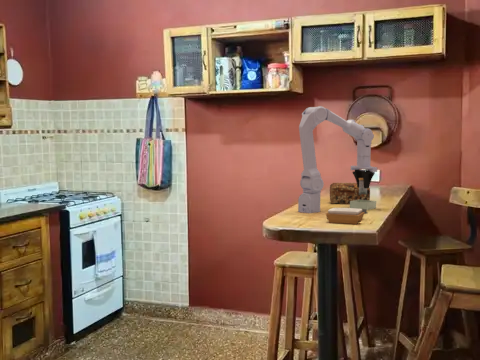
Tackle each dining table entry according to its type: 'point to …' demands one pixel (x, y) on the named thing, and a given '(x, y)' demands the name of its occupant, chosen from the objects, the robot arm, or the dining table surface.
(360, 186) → the jar with copper lid
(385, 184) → the dining table surface
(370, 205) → the bin
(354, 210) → the soap dish
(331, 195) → the bread
